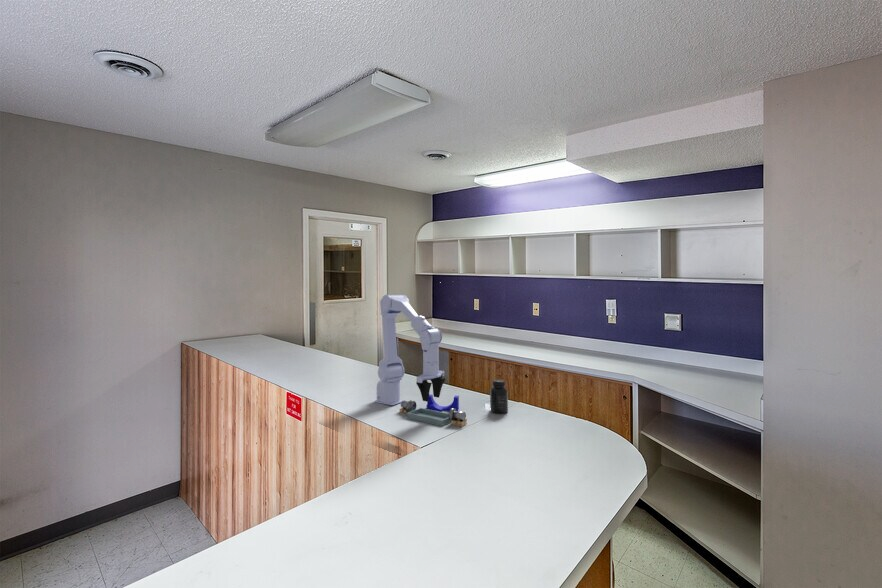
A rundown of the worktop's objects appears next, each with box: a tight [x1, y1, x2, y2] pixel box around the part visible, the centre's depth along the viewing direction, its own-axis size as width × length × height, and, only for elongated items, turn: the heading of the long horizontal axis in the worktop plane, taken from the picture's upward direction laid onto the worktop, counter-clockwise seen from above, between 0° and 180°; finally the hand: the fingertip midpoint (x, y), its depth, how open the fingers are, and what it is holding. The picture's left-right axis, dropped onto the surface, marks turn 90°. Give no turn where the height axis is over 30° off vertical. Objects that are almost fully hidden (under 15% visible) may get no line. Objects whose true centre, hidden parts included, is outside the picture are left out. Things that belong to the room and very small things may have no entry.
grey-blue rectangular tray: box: [406, 407, 452, 427], centre depth 151 cm, size 16×8×2 cm, turn 55°
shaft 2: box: [448, 408, 468, 428], centre depth 145 cm, size 5×4×5 cm
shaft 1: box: [399, 399, 417, 416], centre depth 158 cm, size 5×4×5 cm
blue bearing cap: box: [426, 394, 460, 412], centre depth 161 cm, size 12×4×6 cm, turn 80°
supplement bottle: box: [489, 379, 509, 415], centre depth 160 cm, size 7×7×12 cm
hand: (431, 399), depth 151 cm, fingers open, 6 cm apart
